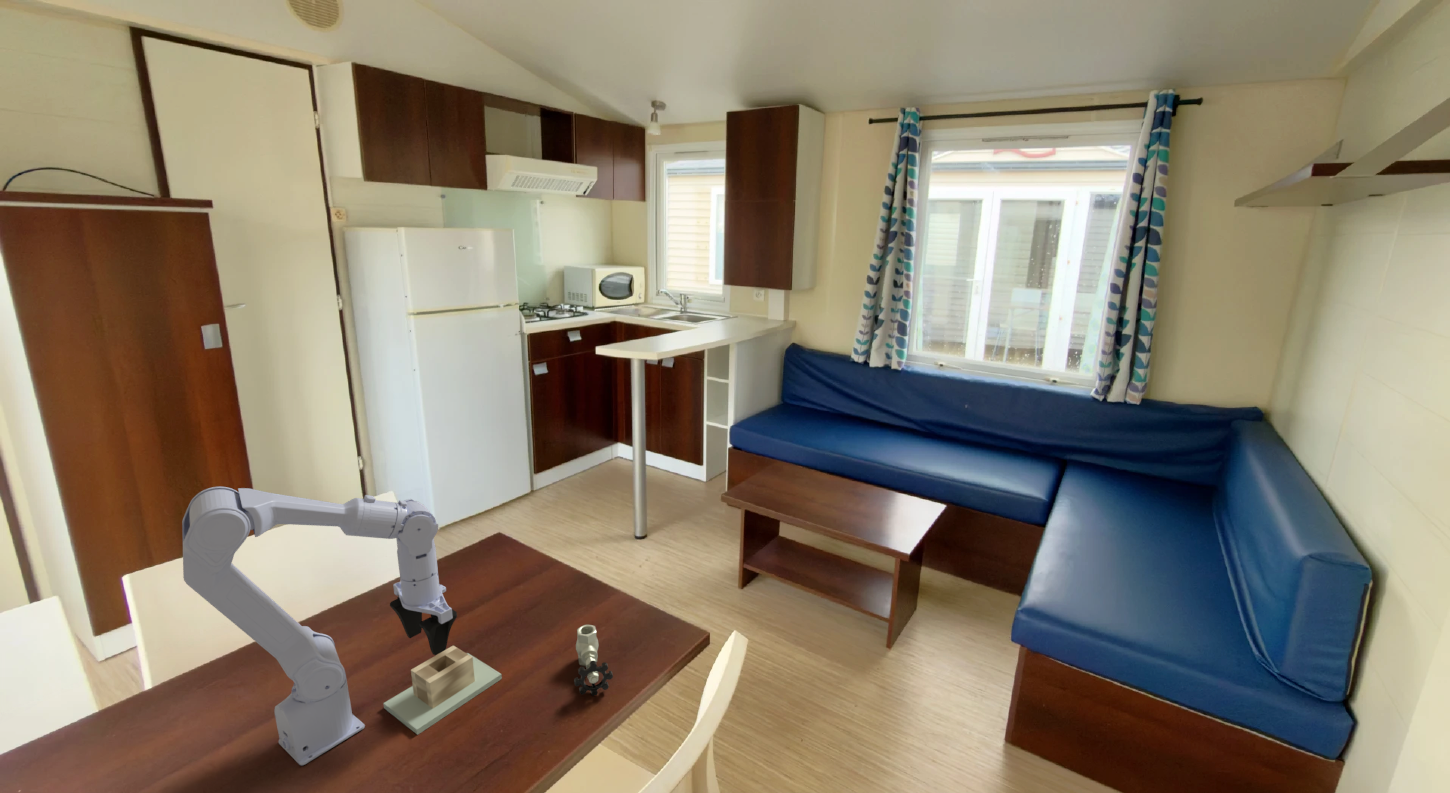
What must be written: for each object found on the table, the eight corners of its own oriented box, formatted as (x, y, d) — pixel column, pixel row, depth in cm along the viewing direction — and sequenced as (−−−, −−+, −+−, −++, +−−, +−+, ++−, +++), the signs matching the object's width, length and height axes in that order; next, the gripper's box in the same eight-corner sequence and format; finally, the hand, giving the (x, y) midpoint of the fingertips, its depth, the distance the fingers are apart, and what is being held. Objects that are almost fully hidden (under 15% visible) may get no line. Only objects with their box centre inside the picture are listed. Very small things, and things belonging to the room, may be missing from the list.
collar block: (432, 708, 105) (429, 683, 104) (413, 694, 108) (410, 669, 107) (474, 681, 111) (472, 657, 110) (455, 669, 114) (453, 645, 113)
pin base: (417, 734, 101) (414, 713, 100) (384, 708, 106) (381, 688, 105) (501, 678, 114) (500, 659, 113) (468, 657, 119) (466, 639, 118)
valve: (568, 656, 120) (575, 700, 109) (567, 626, 118) (573, 667, 107) (603, 650, 122) (613, 692, 111) (602, 620, 120) (612, 660, 109)
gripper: (466, 576, 104) (472, 647, 108) (418, 550, 112) (425, 617, 116) (425, 595, 98) (433, 669, 102) (378, 566, 106) (386, 636, 110)
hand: (426, 643), depth 108 cm, fingers open, 7 cm apart
